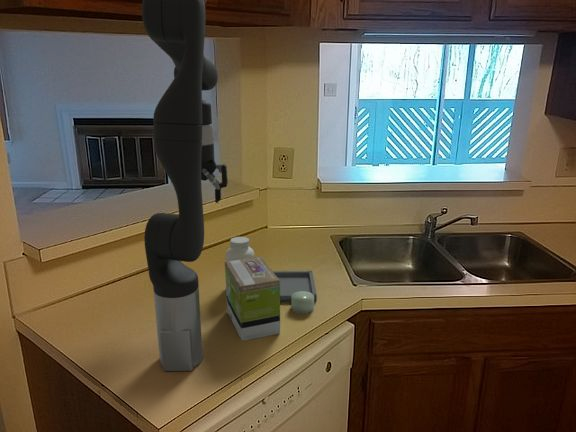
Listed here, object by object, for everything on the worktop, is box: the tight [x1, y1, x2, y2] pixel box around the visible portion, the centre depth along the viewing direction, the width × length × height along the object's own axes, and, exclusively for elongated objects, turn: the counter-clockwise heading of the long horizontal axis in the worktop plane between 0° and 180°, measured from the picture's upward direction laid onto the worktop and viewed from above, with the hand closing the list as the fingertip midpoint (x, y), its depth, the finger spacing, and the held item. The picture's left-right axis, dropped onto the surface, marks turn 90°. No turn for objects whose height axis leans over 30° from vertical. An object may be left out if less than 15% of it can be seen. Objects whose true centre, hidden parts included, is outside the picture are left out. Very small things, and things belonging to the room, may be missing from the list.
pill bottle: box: [225, 236, 255, 262], centre depth 138 cm, size 8×8×15 cm
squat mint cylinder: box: [290, 291, 315, 315], centre depth 129 cm, size 6×6×4 cm
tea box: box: [224, 255, 281, 342], centre depth 120 cm, size 15×10×15 cm, turn 21°
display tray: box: [272, 270, 318, 303], centre depth 140 cm, size 16×16×2 cm
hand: (202, 202), depth 132 cm, fingers open, 7 cm apart
